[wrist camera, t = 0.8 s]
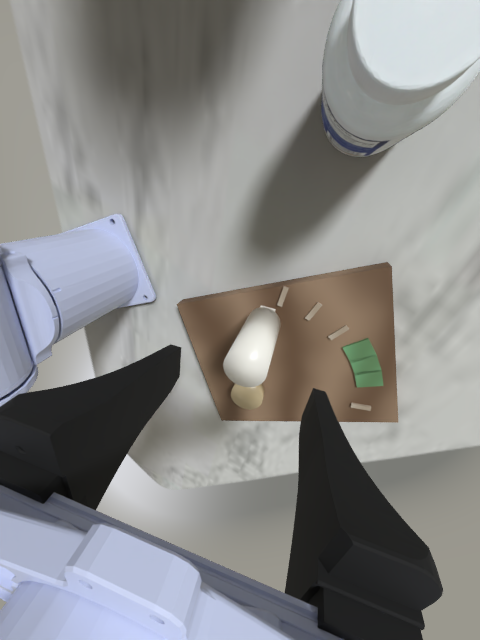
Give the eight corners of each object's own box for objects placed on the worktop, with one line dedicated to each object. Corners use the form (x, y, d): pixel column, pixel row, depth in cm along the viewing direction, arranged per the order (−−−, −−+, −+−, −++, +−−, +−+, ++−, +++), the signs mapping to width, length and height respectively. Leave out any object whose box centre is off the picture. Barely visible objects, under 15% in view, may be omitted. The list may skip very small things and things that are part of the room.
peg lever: (261, 404, 25) (243, 473, 19) (232, 395, 26) (205, 459, 19) (288, 307, 20) (275, 358, 14) (251, 297, 20) (222, 343, 14)
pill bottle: (420, 12, 13) (619, -331, 4) (428, 134, 15) (576, 58, 6) (311, 71, 15) (303, -85, 6) (330, 172, 17) (343, 153, 8)
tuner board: (225, 412, 29) (221, 421, 28) (182, 299, 24) (175, 305, 23) (394, 412, 23) (398, 424, 22) (387, 262, 18) (392, 267, 17)
